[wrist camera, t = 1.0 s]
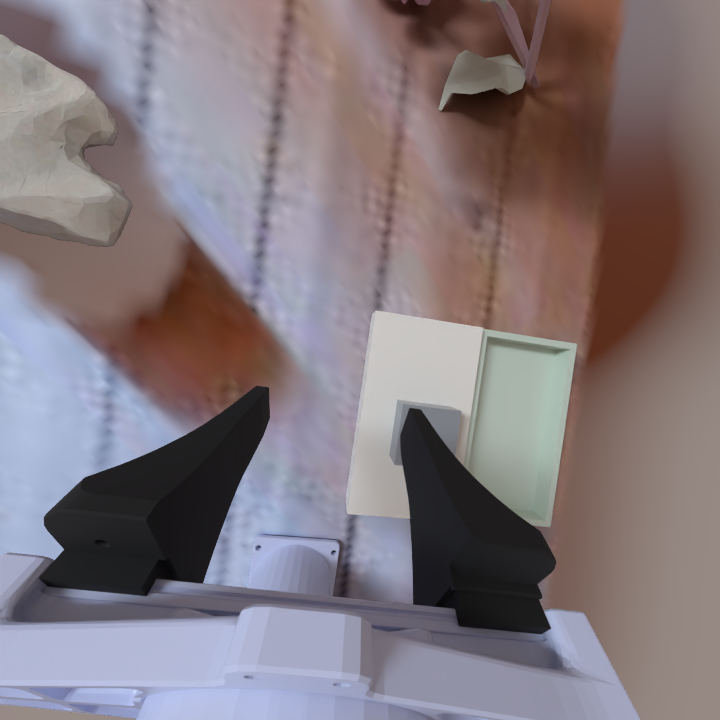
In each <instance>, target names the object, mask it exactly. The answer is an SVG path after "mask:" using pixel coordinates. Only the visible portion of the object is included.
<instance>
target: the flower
mask: <svg viewBox="0 0 720 720" xmlns="http://www.w3.org/2000/svg"><path fill="white" fill-rule="evenodd" d="M401 1H402V2H403V4H405V3H406V2H407V0H401ZM414 1H415V2H416V3H417V4H418V5H429V3H430V2H431V1H432V0H414ZM480 1H482V2H492V4H493V6H494V8H495V10H496V12H497V14H498V16H499V18H500V20H501V22H502V24H503V27H504V29H505V31H506V33H507V35H508V37H509V39H510V41H511V43H512V45H513V47H514V49H515V51H516V53H517V55H518V57H519V59H520V61H521V63H522V65H523V67H524V68H523V67H522V66H521V65H520V64H519V63H518V62H517V61H516V60H515V59H514V58H513V57H512V56H511V55H510V54H508V55H502V56H497V57H491V58H484V57H482V56H479V55H477V54H475V53H473V52H470V51H468V50H465V51H463V52H462V53H460V54H458V56H457V58H456V60H455V63H454V65H453V67H452V70H451V72H450V74H449V77H448V79H447V82H446V84H445V87H444V91H443V94H442V98H441V102H440V106H439V110H441V111H442V109H443V108H444V106H445V105H446V103H447V101H448V100H449V98H450V97H451V95H452V94H453V93H461V94H475V93H479V92H483V91H487V90H491V89H494V88H496V89H498V90H500V91H501V92H503V93H505V94H506V95H509V94H511V93H514V92H516V91H518V90H520V89H522V88H523V85H524V82H527V83H529V82H530V81H531V83H532V86H533V88H534V89H536V88H538V87H540V84H539V81H538V78H537V75H536V72H535V68H536V64H537V60H538V55H539V51H540V47H541V43H542V38H543V34H544V30H545V26H546V21H547V17H548V13H549V8H550V4H551V0H540V2H539V7H538V12H537V17H536V22H535V27H534V31H533V36H532V41H531V45H530V50H529V51H528V48H527V45H526V41H525V38H524V35H523V32H522V29H521V26H520V23H519V20H518V17H517V14H516V12H515V11H514V9H513V8H512V6H511V5H510V3H509V2H508V0H480Z"/></svg>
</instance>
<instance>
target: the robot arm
mask: <svg viewBox="0 0 720 720" xmlns="http://www.w3.org/2000/svg"><path fill="white" fill-rule="evenodd" d="M269 418H270V409H269V388H268V387H261V386H256V387H254V388H253V389H252V390H250V391H249V392H248V393H247V394H245V395H244V396H243V397H241V398H240V399H239V400H238V401H236V402H235V403H234V404H232V405H231V406H230V407H228V408H227V409H226V410H224V411H223V412H221V413H220V414H219V415H217V416H216V417H214V418H213V419H211V420H210V421H208V422H207V423H205V424H204V425H202V426H200V427H199V428H197V429H195V430H194V431H192V432H190V433H188V434H187V435H185V436H183V437H181V438H179V439H177V440H175V441H173V442H171V443H169V444H167V445H165V446H163V447H161V448H159V449H157V450H155V451H152V452H150V453H148V454H146V455H143V456H141V457H139V458H136V459H134V460H131V461H129V462H126V463H124V464H121V465H119V466H116V467H113V468H110V469H107V470H105V471H102V472H99V473H96V474H94V475H91V476H88V477H85V478H84V479H83V480H82V481H81V482H79V483H78V484H77V485H76V486H75V487H74V488H73V489H72V490H71V491H70V492H69V493H68V494H67V495H66V496H65V497H64V498H62V499H61V500H60V501H59V502H58V503H57V504H56V505H55V506H54V507H53V508H52V509H51V510H50V511H49V512H48V513H47V514H46V515H45V517H44V526H45V527H46V529H47V530H48V532H49V533H50V534H51V535H52V536H53V537H54V538H55V540H56V541H57V542H58V543H59V544H60V545H61V546H62V547H63V548H64V551H63V552H62V553H61V554H60V555H59V556H58V557H57V558H56V559H55V561H54V560H53V559H51V558H48V557H44V556H37V555H27V554H17V553H6V554H3V555H2V556H1V557H0V704H2V705H13V706H23V707H33V708H42V709H52V710H61V711H71V712H79V713H88V714H98V715H107V716H117V717H125V718H134V719H136V720H641V719H640V717H639V715H638V713H637V711H636V710H635V708H634V706H633V704H632V702H631V700H630V698H629V697H628V695H627V693H626V691H625V689H624V687H623V685H622V683H621V681H620V679H619V678H618V676H617V674H616V672H615V670H614V668H613V666H612V664H611V663H610V661H609V659H608V657H607V655H606V653H605V651H604V650H603V648H602V646H601V644H600V642H599V640H598V638H597V636H596V634H595V632H594V631H593V629H592V627H591V625H590V623H589V621H588V619H587V617H586V616H585V614H584V613H583V612H581V611H573V610H563V609H546V610H543V608H542V606H541V604H540V602H539V599H541V598H542V594H541V592H540V589H539V587H538V585H537V584H538V583H539V582H540V581H542V580H543V579H544V578H545V577H547V576H548V575H549V574H550V573H551V572H552V571H553V570H554V568H555V565H556V560H555V558H554V556H553V554H552V552H551V550H550V548H549V546H548V544H547V542H546V541H545V539H544V537H543V535H542V534H541V532H540V531H539V530H538V529H536V528H535V527H534V526H532V525H531V524H529V523H528V522H527V521H525V520H524V519H523V518H521V517H520V516H519V515H517V514H516V513H515V512H513V511H512V510H511V509H510V508H508V507H507V506H506V505H505V504H503V503H502V502H501V501H500V500H499V499H497V498H496V497H495V496H494V495H493V494H492V493H491V492H489V491H488V490H487V489H486V488H485V487H484V486H483V485H482V484H481V483H480V482H479V481H478V480H477V479H476V478H475V477H474V476H473V475H472V474H471V473H470V472H469V471H468V470H467V469H466V468H465V467H464V466H463V465H462V464H461V463H460V461H459V460H458V459H457V458H456V457H455V456H454V454H453V453H452V452H451V451H450V449H449V448H448V447H447V446H446V444H445V443H444V442H443V440H442V439H441V438H440V436H439V435H438V433H437V432H436V431H435V429H434V428H433V426H432V425H431V423H430V422H429V420H428V419H427V417H426V416H425V414H424V413H423V412H422V410H421V409H415V408H409V410H408V413H407V416H406V419H405V422H404V425H403V428H402V431H401V434H400V448H401V459H402V465H403V471H404V476H405V482H406V488H407V494H408V501H409V510H410V524H411V541H412V564H413V605H412V604H402V603H392V602H382V601H372V600H362V599H352V598H342V597H333V591H334V584H335V577H336V570H337V563H338V556H339V549H340V544H339V542H338V541H337V540H328V539H314V538H300V537H286V536H272V535H258V536H256V537H255V539H254V542H253V550H252V557H251V564H250V571H249V578H248V585H247V588H242V587H232V586H222V585H213V584H203V581H204V578H205V575H206V572H207V569H208V566H209V563H210V560H211V557H212V554H213V551H214V549H215V546H216V543H217V540H218V537H219V535H220V532H221V529H222V526H223V524H224V521H225V518H226V516H227V513H228V510H229V508H230V505H231V503H232V500H233V498H234V495H235V492H236V490H237V487H238V485H239V483H240V481H241V479H242V476H243V474H244V472H245V471H246V469H247V467H248V465H249V463H250V461H251V459H252V457H253V455H254V453H255V451H256V449H257V447H258V445H259V443H260V441H261V439H262V437H263V435H264V432H265V430H266V427H267V424H268V421H269ZM257 545H260V546H261V547H260V548H258V547H257ZM333 550H335V551H336V552H334V553H333V552H331V551H333Z"/></svg>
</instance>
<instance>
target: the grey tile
mask: <svg viewBox="0 0 720 720" xmlns="http://www.w3.org/2000/svg"><path fill="white" fill-rule="evenodd" d="M409 408H415V409H421V410H422V412H423V413H424V414H425V416H426V417H427V419H428V420H429V422H430V423H431V425H432V426H433V428H434V429H435V431H436V432H437V433H438V435H439V436H440V438H441V439H442V440H443V442H444V443H445V444H446V446H447V447H448V448H449V449H450V451H451V452H452V453H453V454H454V456H455V454H456V447H457V440H458V433H459V426H460V419H461V412H462V411H460V410H458V409H455V408H453V407H451V406H443V405H435V404H427V403H420V402H412V401H404V400H397V405H396V412H395V419H394V426H393V433H392V440H391V447H390V454H389V456H390V458H391V459H392V461H393V463H394V465H400V466H403V465H402V459H401V448H400V434H401V431H402V428H403V425H404V422H405V419H406V416H407V413H408V410H409Z"/></svg>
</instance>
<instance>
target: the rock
mask: <svg viewBox="0 0 720 720" xmlns="http://www.w3.org/2000/svg"><path fill="white" fill-rule="evenodd" d="M118 132H119V126H118V124H117V121H116V119H115V117H114V116H113V115H112V114H111V112H110V111H109V110H108V108H107V107H106V105H105V104H104V102H103V101H101V100H100V99H99V98H98V97H97V95H96V93H95V92H94V91H93V90H92V89H91V88H90V87H89V86H88V85H86V84H85V83H84V82H83V81H82V80H80V79H79V78H78V77H76V76H74V75H72V74H70V73H68V72H65V71H63V70H61V69H59V68H57V67H55V66H54V65H52V64H51V63H49V62H48V61H46V60H45V59H43V58H42V57H40V56H39V55H36V54H35V53H32V52H30V51H29V50H27V49H24V48H22V47H20V46H18V45H16V44H15V43H14V42H12V41H11V40H10V39H8V38H7V37H5V36H3V35H1V34H0V223H3V224H7V225H10V226H12V227H14V228H16V229H18V230H21V231H23V232H28V233H32V234H37V235H45V236H49V237H52V238H55V239H57V240H65V241H75V242H81V243H84V244H87V245H92V246H103V247H108V246H114V244H115V243H116V241H117V239H118V238H119V236H120V234H121V232H122V230H123V228H124V226H125V224H126V221H127V219H128V216H129V214H130V211H131V209H132V204H131V201H130V200H129V199H128V198H127V197H126V196H125V194H124V192H123V190H122V188H121V187H120V186H119V185H117V184H115V183H113V182H111V181H108V180H106V179H105V178H104V177H102V176H101V175H100V174H99V173H98V172H97V171H96V170H95V169H94V168H92V167H91V166H90V165H89V164H88V163H87V161H85V160H84V150H85V149H86V148H87V147H93V146H99V145H111V146H112V145H113V144H114V142H115V140H116V137H117V135H118Z"/></svg>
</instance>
